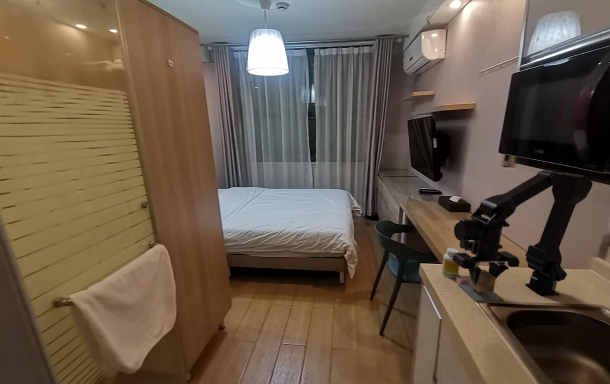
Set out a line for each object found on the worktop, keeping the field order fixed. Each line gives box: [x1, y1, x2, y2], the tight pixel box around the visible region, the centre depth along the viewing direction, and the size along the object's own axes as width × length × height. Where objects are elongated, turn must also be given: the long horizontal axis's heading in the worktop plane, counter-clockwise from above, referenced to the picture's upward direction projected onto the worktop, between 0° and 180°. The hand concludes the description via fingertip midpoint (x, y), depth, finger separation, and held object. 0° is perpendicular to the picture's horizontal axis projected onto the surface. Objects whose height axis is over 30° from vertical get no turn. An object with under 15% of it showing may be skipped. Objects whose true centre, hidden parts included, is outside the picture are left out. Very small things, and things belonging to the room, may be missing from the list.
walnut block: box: [468, 269, 497, 292], centre depth 90 cm, size 5×5×5 cm
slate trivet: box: [457, 283, 504, 303], centre depth 91 cm, size 9×9×1 cm
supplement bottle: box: [441, 247, 460, 279], centre depth 101 cm, size 5×5×10 cm
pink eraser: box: [455, 275, 470, 284], centre depth 97 cm, size 5×2×2 cm, turn 100°
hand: (481, 283), depth 90 cm, fingers closed on walnut block, 5 cm apart
